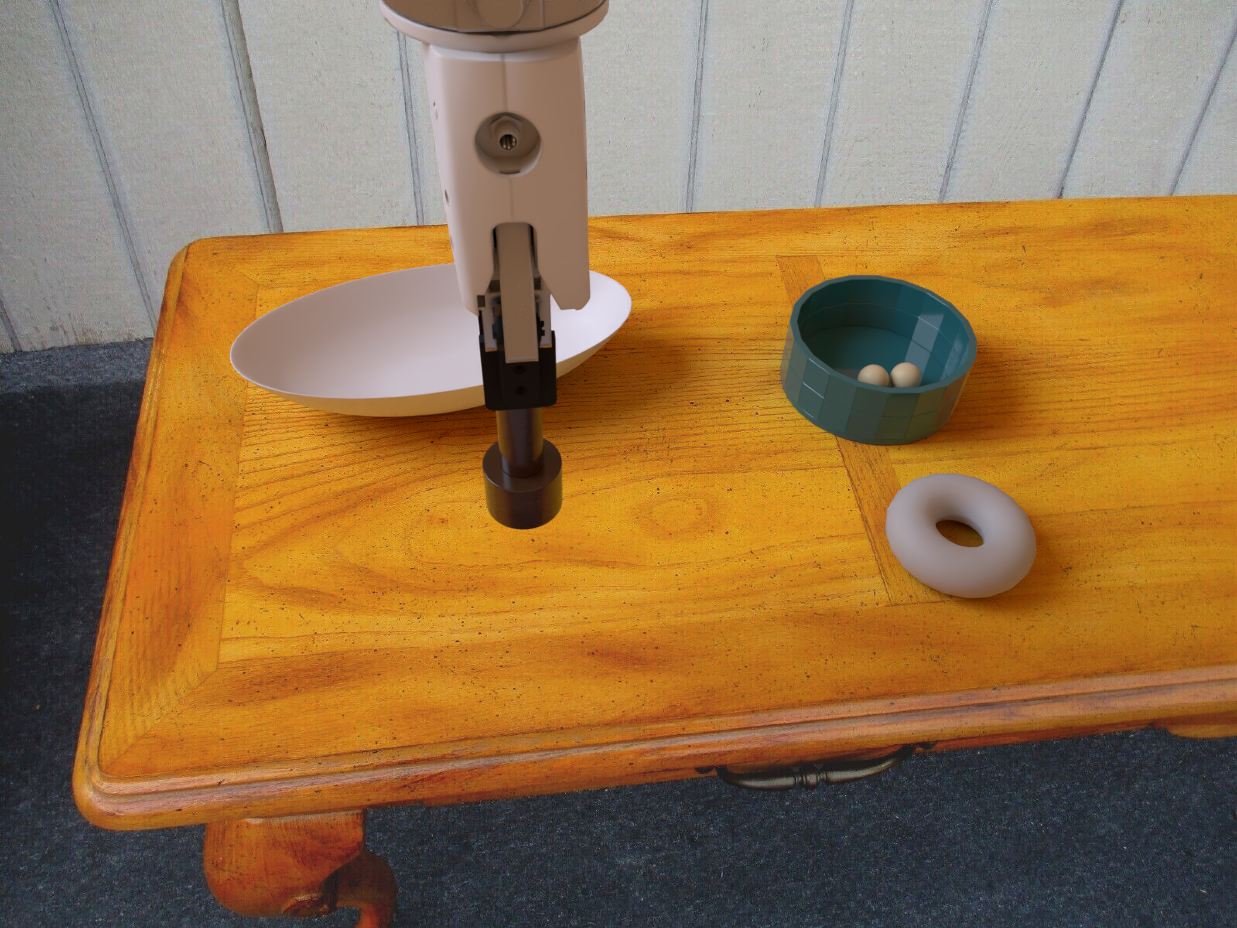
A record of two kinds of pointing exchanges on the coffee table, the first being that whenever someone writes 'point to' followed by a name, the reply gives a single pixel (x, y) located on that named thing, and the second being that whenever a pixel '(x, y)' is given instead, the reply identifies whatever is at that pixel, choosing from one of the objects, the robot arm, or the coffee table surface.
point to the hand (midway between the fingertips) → (518, 380)
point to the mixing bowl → (875, 358)
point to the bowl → (400, 343)
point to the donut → (947, 562)
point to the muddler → (522, 470)
